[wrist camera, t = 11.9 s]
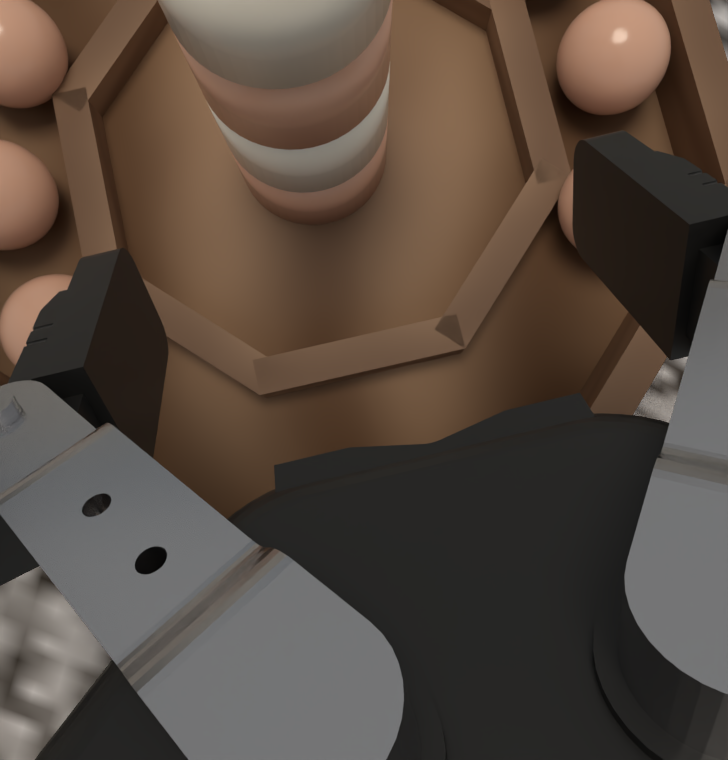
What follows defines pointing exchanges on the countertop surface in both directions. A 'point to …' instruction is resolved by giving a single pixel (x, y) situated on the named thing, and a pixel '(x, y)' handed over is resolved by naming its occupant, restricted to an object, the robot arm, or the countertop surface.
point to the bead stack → (295, 95)
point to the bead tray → (358, 236)
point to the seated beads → (50, 64)
